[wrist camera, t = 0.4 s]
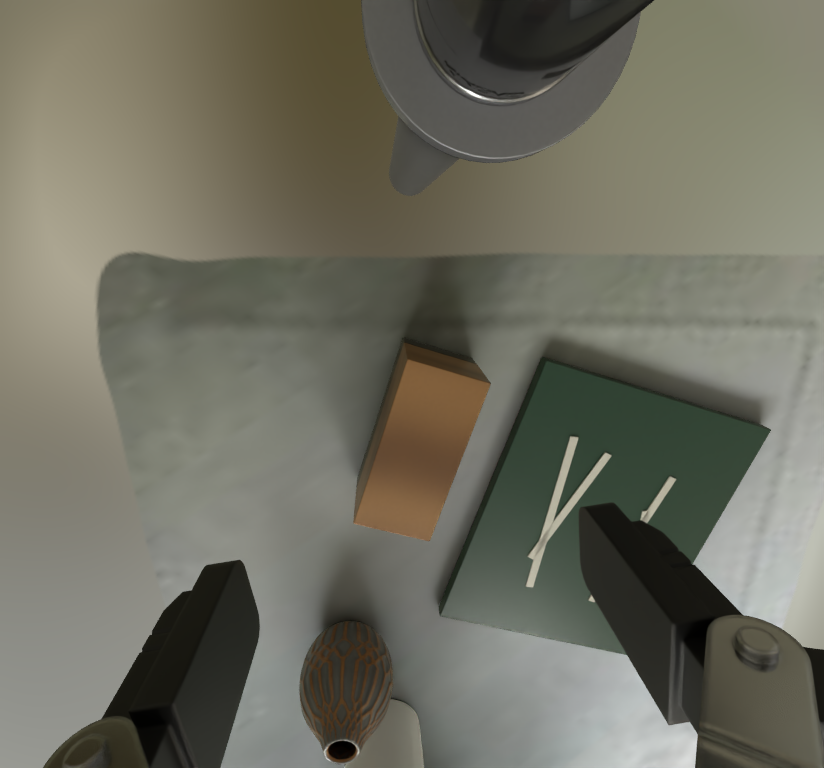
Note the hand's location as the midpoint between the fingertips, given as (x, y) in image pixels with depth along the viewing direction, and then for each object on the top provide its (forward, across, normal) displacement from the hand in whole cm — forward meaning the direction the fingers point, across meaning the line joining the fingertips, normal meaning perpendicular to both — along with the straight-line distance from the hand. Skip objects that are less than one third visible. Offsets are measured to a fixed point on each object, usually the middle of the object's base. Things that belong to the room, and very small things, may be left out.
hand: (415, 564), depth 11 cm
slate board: (+22, -14, +16) cm, 30 cm away
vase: (+22, +7, +24) cm, 33 cm away
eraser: (+21, -1, +5) cm, 22 cm away
